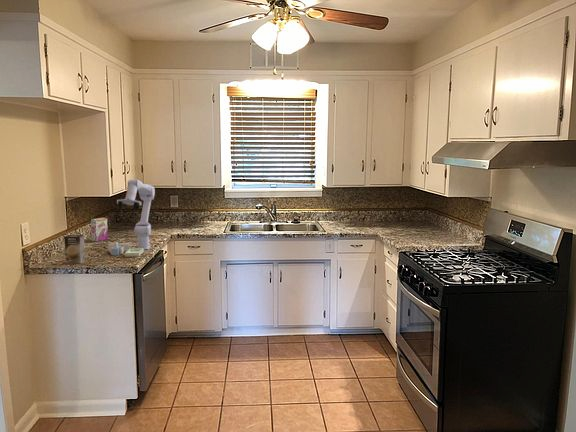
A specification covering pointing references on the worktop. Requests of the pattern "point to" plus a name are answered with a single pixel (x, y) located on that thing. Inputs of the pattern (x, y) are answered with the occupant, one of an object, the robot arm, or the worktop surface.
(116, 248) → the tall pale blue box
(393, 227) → the worktop surface
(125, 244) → the stand
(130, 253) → the tray
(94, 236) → the candy bar box
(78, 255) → the coffee box
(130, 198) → the robot arm
